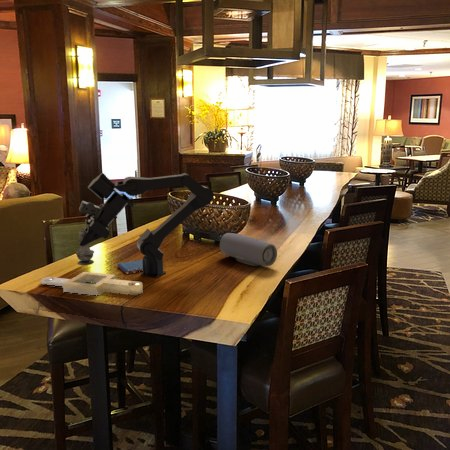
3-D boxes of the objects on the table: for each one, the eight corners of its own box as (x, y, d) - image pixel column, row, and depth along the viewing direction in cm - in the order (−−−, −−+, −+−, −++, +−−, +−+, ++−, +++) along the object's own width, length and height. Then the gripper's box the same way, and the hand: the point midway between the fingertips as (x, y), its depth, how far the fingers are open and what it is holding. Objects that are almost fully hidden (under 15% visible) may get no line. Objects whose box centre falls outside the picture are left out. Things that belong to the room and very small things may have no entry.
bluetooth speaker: (278, 267, 179) (278, 240, 176) (260, 272, 173) (260, 245, 170) (236, 254, 195) (236, 229, 193) (218, 258, 189) (218, 233, 187)
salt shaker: (80, 266, 158) (78, 231, 155) (73, 262, 163) (70, 227, 160) (97, 263, 162) (95, 228, 159) (90, 258, 166) (87, 224, 163)
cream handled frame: (116, 283, 162) (116, 279, 161) (97, 296, 151) (97, 291, 150) (53, 277, 168) (52, 272, 168) (30, 288, 157) (30, 284, 157)
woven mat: (154, 271, 176) (154, 266, 175) (125, 276, 171) (125, 270, 170) (144, 263, 185) (143, 258, 184) (116, 268, 180) (116, 262, 179)
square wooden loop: (150, 287, 158) (149, 278, 158) (133, 300, 147) (132, 291, 146) (84, 280, 165) (83, 271, 164) (63, 292, 154) (62, 283, 153)
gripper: (90, 188, 167) (58, 222, 165) (95, 196, 150) (61, 235, 148) (115, 208, 171) (84, 242, 170) (123, 219, 154) (89, 257, 153)
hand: (79, 243), depth 160 cm, fingers closed on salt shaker, 4 cm apart
